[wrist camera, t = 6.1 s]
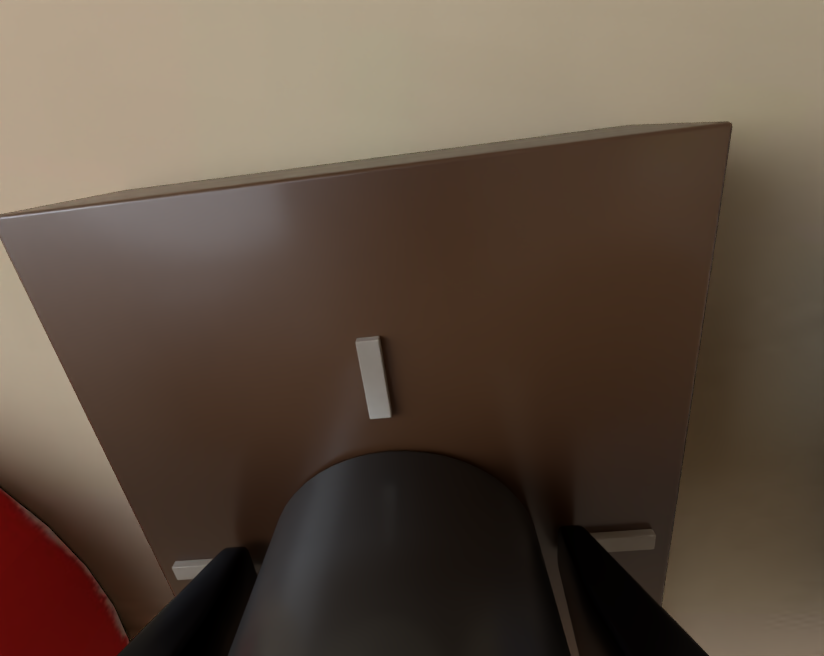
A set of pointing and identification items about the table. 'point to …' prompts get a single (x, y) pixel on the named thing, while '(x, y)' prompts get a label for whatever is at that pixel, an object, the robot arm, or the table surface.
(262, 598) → the dark grey rotary knob
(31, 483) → the table surface
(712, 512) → the table surface
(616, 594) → the robot arm
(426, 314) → the rotary dial knob box
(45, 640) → the toy clock
